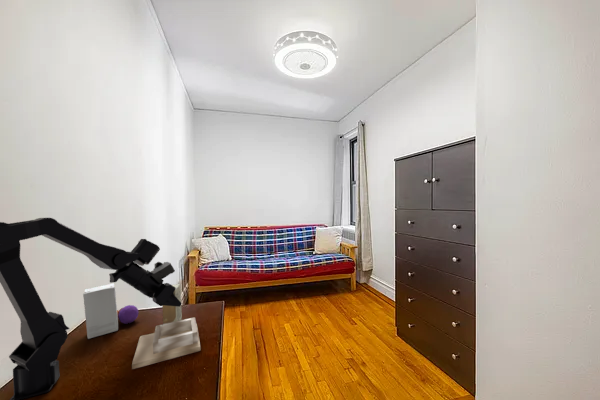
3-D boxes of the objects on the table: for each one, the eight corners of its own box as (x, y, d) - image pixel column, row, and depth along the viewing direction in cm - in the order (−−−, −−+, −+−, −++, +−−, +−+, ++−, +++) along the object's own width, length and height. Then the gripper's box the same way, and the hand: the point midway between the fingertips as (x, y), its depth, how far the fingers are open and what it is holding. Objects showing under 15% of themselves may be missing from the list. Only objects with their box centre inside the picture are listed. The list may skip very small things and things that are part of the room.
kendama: (114, 301, 104) (142, 304, 94) (112, 317, 103) (140, 322, 93) (96, 303, 99) (124, 307, 89) (94, 320, 98) (122, 326, 88)
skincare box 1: (118, 324, 91) (116, 282, 91) (118, 331, 86) (115, 286, 86) (87, 332, 86) (85, 287, 86) (85, 340, 81) (83, 292, 81)
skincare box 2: (169, 320, 91) (167, 284, 91) (182, 318, 91) (180, 283, 92) (162, 328, 84) (160, 290, 84) (176, 327, 85) (175, 289, 85)
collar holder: (132, 369, 65) (131, 352, 65) (140, 340, 80) (139, 326, 80) (200, 350, 72) (199, 335, 72) (196, 326, 86) (196, 314, 86)
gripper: (167, 259, 79) (204, 286, 86) (148, 253, 92) (182, 277, 100) (138, 292, 73) (180, 318, 81) (123, 281, 86) (160, 304, 94)
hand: (176, 302), depth 89 cm, fingers closed on skincare box 2, 7 cm apart
